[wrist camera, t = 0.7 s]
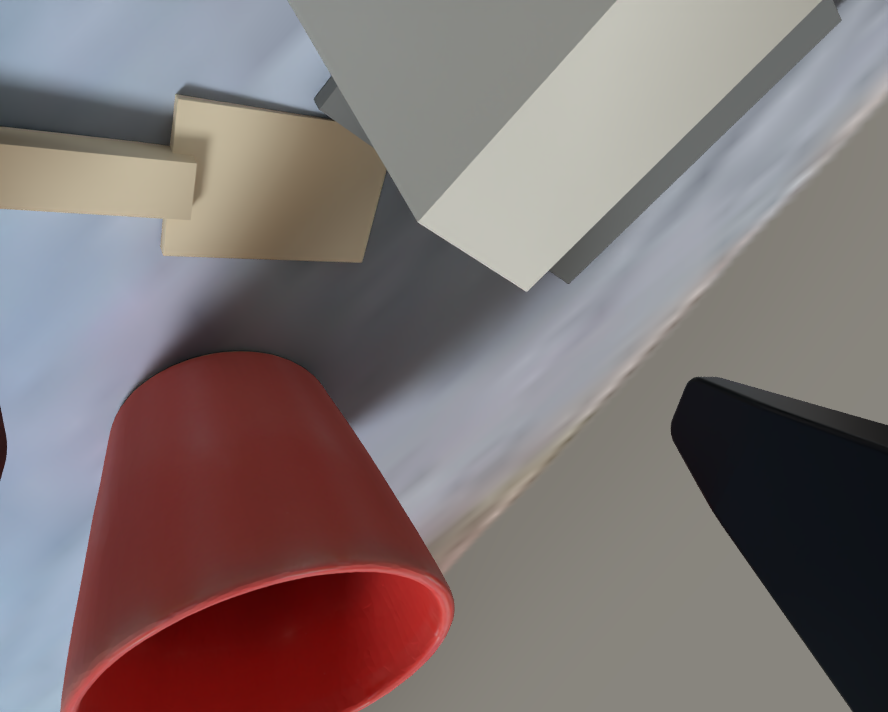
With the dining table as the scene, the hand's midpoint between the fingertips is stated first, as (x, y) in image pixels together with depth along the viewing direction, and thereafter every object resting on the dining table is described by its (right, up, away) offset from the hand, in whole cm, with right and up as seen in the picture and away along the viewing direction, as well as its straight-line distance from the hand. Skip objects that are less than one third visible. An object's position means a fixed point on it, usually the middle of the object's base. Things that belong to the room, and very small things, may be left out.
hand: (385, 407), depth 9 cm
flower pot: (-7, -2, +17) cm, 19 cm away
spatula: (-9, +5, +8) cm, 13 cm away
